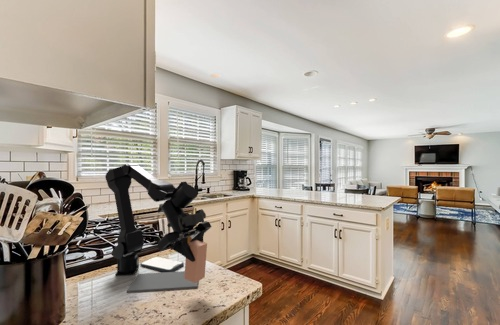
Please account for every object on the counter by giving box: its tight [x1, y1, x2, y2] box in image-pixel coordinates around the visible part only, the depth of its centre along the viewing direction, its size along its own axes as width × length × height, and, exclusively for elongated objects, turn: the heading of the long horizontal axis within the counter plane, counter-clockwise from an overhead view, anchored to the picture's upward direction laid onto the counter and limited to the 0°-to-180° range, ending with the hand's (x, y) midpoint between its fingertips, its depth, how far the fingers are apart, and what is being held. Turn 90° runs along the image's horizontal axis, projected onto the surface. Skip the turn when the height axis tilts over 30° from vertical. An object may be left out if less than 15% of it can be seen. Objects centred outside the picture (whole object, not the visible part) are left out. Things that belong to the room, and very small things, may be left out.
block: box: [184, 240, 208, 283], centre depth 78 cm, size 4×4×11 cm
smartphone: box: [139, 256, 185, 273], centre depth 100 cm, size 9×2×16 cm
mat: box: [126, 270, 199, 293], centre depth 87 cm, size 22×12×1 cm, turn 98°
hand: (199, 258), depth 77 cm, fingers closed on block, 4 cm apart
